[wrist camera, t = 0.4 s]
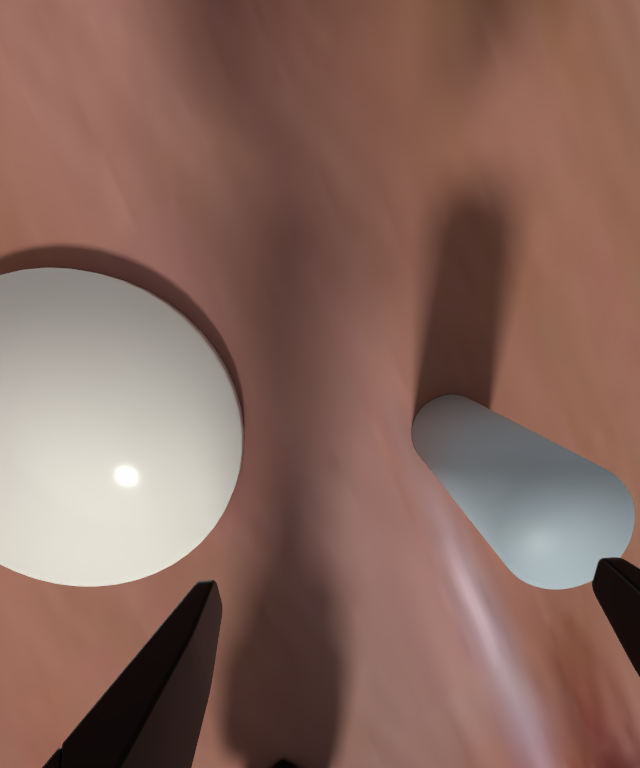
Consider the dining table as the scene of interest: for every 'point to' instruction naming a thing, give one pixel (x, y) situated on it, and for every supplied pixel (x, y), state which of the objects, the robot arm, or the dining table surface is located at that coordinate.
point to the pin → (525, 492)
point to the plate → (108, 429)
